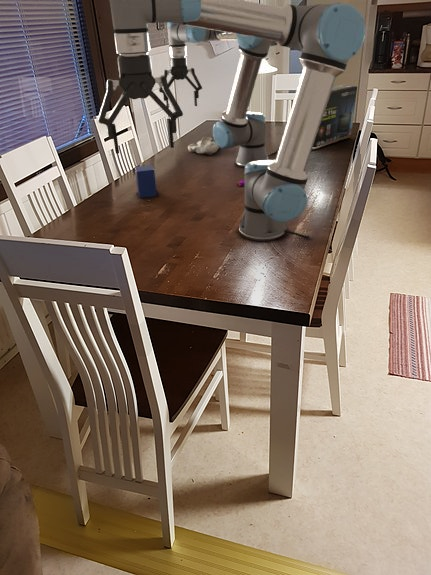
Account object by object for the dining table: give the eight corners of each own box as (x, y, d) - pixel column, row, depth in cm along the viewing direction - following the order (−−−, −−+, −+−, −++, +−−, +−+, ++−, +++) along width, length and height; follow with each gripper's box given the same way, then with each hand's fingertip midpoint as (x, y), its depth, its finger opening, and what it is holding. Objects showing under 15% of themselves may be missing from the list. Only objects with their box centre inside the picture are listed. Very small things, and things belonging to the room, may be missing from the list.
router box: (314, 151, 231) (318, 94, 217) (296, 148, 237) (299, 92, 224) (352, 138, 251) (358, 85, 238) (335, 135, 258) (340, 83, 245)
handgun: (238, 184, 192) (238, 179, 191) (256, 182, 193) (256, 177, 192) (251, 201, 174) (250, 196, 173) (270, 198, 175) (270, 193, 174)
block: (137, 192, 187) (134, 166, 182) (154, 190, 189) (151, 164, 183) (139, 198, 182) (136, 171, 176) (156, 196, 183) (154, 169, 178)
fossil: (211, 149, 226) (191, 129, 229) (201, 167, 233) (181, 148, 236) (230, 147, 240) (211, 129, 243) (220, 164, 247) (201, 146, 250)
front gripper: (77, 59, 98) (94, 158, 109) (191, 52, 103) (196, 147, 114) (77, 56, 104) (93, 150, 115) (184, 50, 109) (190, 141, 120)
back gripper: (151, 59, 202) (156, 110, 213) (206, 56, 206) (209, 106, 217) (149, 58, 208) (154, 107, 219) (203, 54, 212) (205, 103, 223)
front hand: (144, 149), depth 115 cm, fingers open, 13 cm apart
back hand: (181, 107), depth 218 cm, fingers open, 13 cm apart
